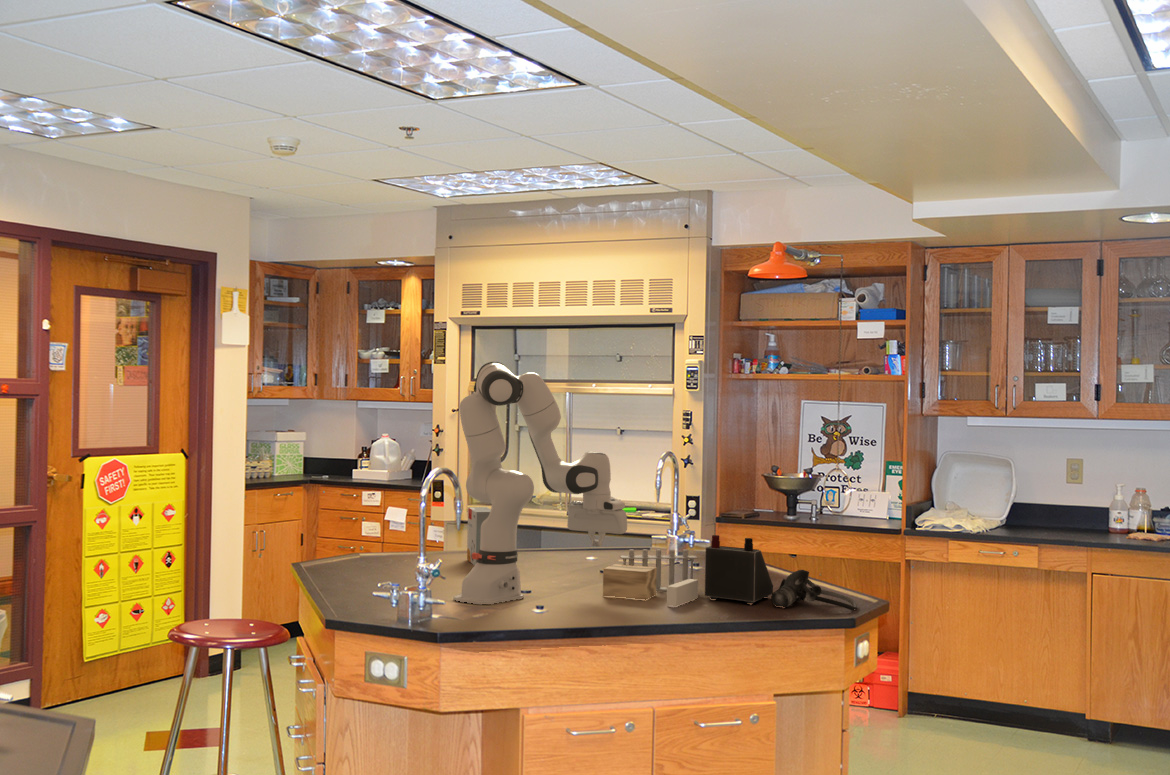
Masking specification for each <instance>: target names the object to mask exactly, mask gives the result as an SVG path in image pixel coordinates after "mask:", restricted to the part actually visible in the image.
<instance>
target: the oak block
mask: <svg viewBox="0 0 1170 775" xmlns="http://www.w3.org/2000/svg"><path fill="white" fill-rule="evenodd" d="M602 570H603V572H602V597H603V596H615V597H626V598H635V599H645V600H646V599H648V598H650V597H652V596H654V595H656V596H657V592H656V571H657V568H656V566H655V567H653V566H648V567H644V566H642V565H640V566H639V565H634V566H632V565H629V564H626V565H623V564H618V563H614V564H612V565H609V566H606V567H603V569H602Z"/></svg>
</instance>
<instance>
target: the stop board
mask: <svg viewBox="0 0 1170 775" xmlns="http://www.w3.org/2000/svg"><path fill="white" fill-rule="evenodd" d="M666 587H667V592H666V606H667V605H673V606H677V605H680V604H682V603H685V602H688V601H691V600H693V599H696V598H698V599H699V594H698V593H699V579H694V578H693V579H690V578H688V579H687V580H684V581H682V580H681V581H679V582H676V583H675V582H674V584H673V585H670V586H669V585H668V586H666Z"/></svg>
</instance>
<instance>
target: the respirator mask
mask: <svg viewBox="0 0 1170 775" xmlns="http://www.w3.org/2000/svg"><path fill="white" fill-rule="evenodd" d="M809 577H810V571H807V570H805V569H798V570H796V571H794V572H792V573H790V574H789V575H788V576H786V578H783V579H782V580H781V582H780V585H779V587H778V589H776V590H775V591H773V594H771V595H770V596H771V598H770V600H771V603H772V604H773V606H774V605H776V606H783V607H787V608H788V607H790V606H791V605H792V604H794V602H798V603H800V602H801V601H803V602H804V601H805V600H807V601H808V602H814V601H817V602H822V603H825V604H830V605H834V606H837V607H840V608H844V609H847V610H850V611H852V610H854V609H856V610H857V607H858V605H857V602H856V601H855V600H854V599H853V598H851V597H849V596H847V595H844V594H841V593H838V592H833V591H829V590H825V589H822V588H821V586H819V584H818V585H817V584H815V583H814V582H813V581H811V580H810V579H809ZM807 585H808V586H807ZM809 586H810V587H809ZM821 594H822V595H826V596H829V597H834V598H837V599H840V600H844V601H846V602H848V603H845V602H842V601H838V600H834V599H830V598H827V597H823V596H820V595H821ZM849 603H850V604H849ZM854 611H855V610H854Z"/></svg>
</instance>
